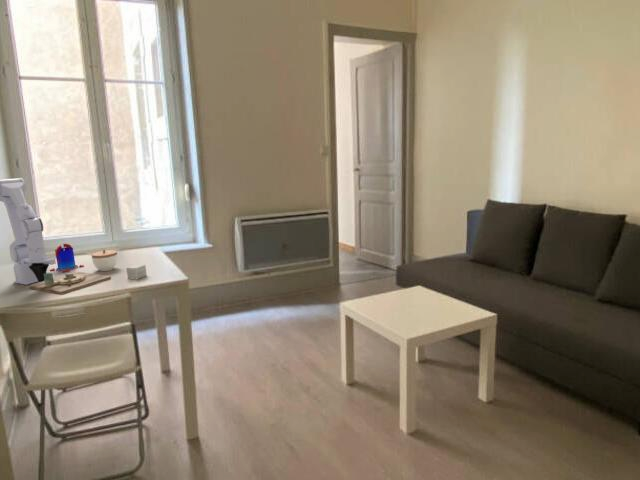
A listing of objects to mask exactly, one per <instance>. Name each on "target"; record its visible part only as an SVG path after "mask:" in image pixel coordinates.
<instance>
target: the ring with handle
mask: <svg viewBox="0 0 640 480" xmlns="http://www.w3.org/2000/svg"><path fill="white" fill-rule="evenodd" d="M53 274H54V273H53V272H52V271H51V272H50V271H49V272H46V273H44V280H45V283H44V285H45V286H47V287H48V286H52V285H56V284H68V280H66V276H64V275H61V276H62V277H60V276H59V277H60V278H57V277H56V278H57V279H55V280H53V278H54V276H53ZM85 278H86V277H85V275H83V274H80V275H79V274H74V279H71V283H75V282H79V281H81V280H84V279H85ZM69 280H70V279H69Z"/></svg>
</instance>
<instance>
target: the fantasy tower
mask: <svg viewBox="0 0 640 480" xmlns="http://www.w3.org/2000/svg"><path fill="white" fill-rule="evenodd" d="M61 245H62V244H61ZM61 245H59V246H57V248H56V249H55V250H54V251H55V252H54V255H55V258H56V259H55V260H56V264H57V267H56V269H55V268H51V269H50V270H49V272H51V273H52V272H62V273H64V274H65V273H71V271H73V270H77V269H79V268H80V269H81V268H85V265H84V264H79V265H76V260H75V253H74V248H73V247H72V246H71V244H69V243H63V246H61Z"/></svg>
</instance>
